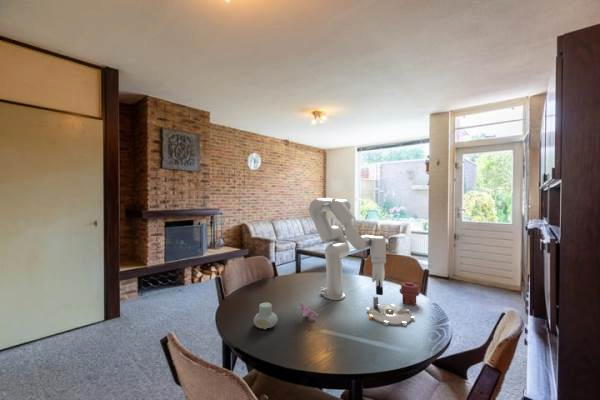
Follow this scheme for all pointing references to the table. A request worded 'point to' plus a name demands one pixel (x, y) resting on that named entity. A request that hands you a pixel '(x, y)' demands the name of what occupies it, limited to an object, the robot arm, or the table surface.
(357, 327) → the table surface
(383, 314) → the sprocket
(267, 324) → the air freshener
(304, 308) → the lily
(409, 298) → the mechanical component
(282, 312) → the table surface
